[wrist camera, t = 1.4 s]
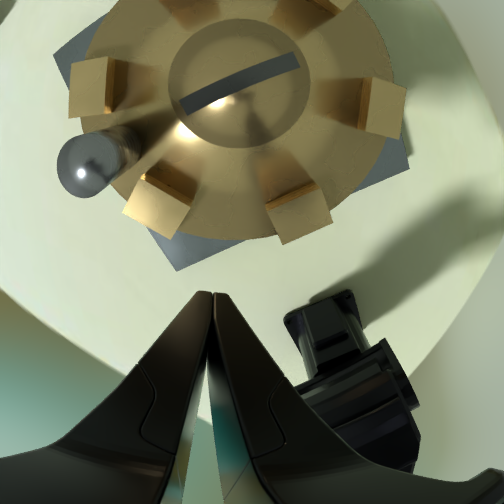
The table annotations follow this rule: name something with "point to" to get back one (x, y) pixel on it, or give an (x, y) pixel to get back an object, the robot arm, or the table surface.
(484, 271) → the table surface
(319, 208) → the ring nut
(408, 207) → the table surface
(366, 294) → the table surface
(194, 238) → the base plate
